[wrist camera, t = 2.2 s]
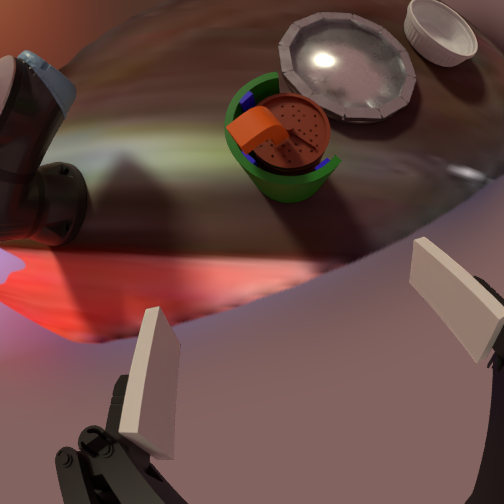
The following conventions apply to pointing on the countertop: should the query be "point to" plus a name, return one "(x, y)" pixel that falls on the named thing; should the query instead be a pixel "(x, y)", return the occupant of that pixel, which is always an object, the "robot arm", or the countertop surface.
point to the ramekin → (439, 33)
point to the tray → (347, 67)
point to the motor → (279, 139)
